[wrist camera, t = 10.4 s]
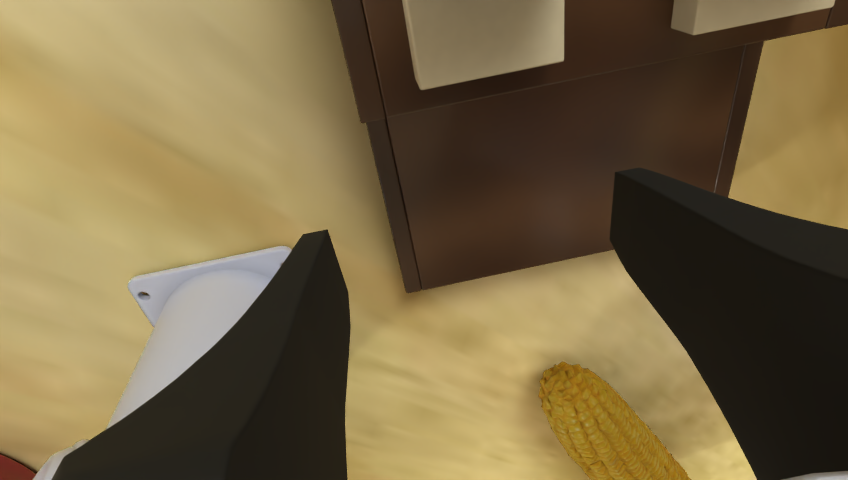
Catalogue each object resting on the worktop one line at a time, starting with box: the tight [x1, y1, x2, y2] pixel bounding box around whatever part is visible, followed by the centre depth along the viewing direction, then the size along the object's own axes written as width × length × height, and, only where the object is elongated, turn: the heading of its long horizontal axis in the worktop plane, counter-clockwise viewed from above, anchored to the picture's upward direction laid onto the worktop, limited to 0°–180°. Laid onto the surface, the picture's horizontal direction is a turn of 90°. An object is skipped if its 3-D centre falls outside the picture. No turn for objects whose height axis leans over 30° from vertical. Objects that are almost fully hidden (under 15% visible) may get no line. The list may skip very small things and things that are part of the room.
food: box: [539, 362, 691, 480], centre depth 33 cm, size 21×6×6 cm, turn 37°
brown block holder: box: [331, 0, 848, 293], centre depth 18 cm, size 20×16×6 cm
